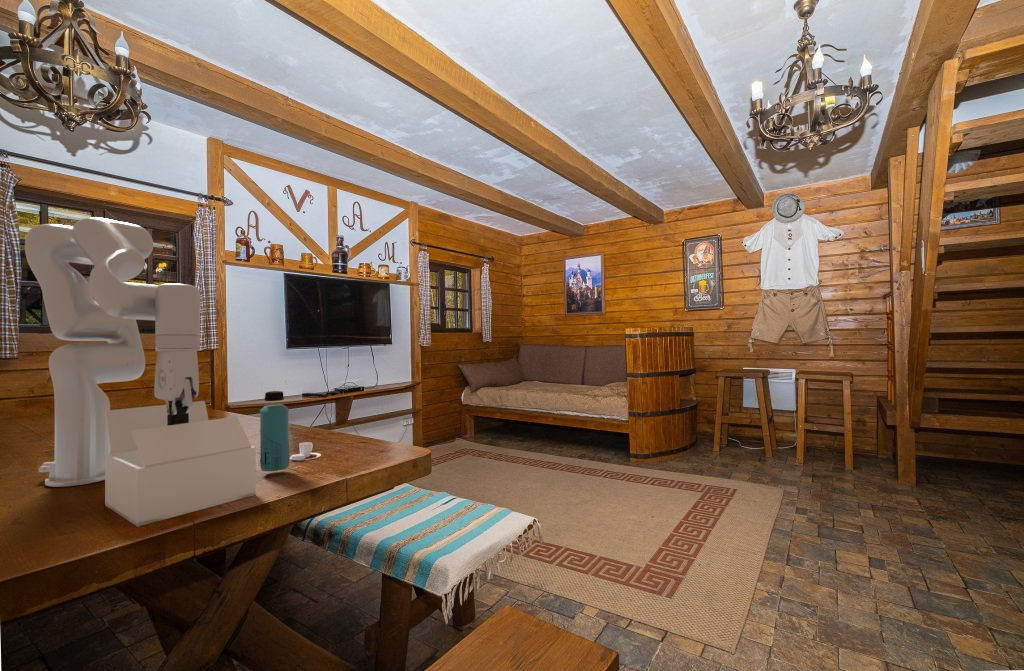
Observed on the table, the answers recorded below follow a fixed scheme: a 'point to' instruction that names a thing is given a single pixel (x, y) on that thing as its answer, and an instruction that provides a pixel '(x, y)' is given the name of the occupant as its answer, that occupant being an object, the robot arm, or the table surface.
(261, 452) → the beverage bottle
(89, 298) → the robot arm
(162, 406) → the far flap
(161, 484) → the carton
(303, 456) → the teacup and saucer
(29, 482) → the table surface
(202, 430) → the near flap
